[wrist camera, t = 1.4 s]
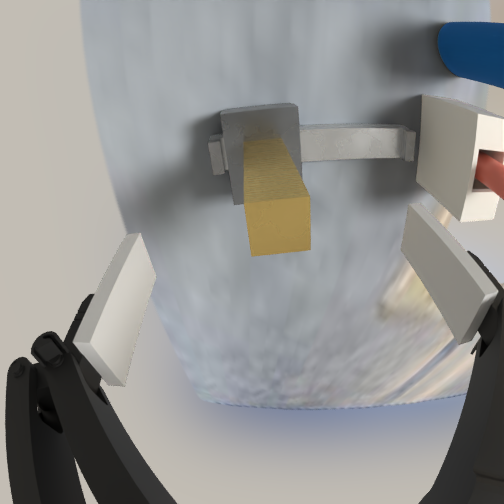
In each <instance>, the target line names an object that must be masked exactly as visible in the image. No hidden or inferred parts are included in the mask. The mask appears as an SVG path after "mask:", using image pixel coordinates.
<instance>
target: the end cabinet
mask: <svg viewBox="0 0 504 504" xmlns="http://www.w3.org/2000/svg"><path fill="white" fill-rule="evenodd" d="M479 150H480V151H482V152H483V153H485V154H487V155H489V156H490V157H492V158H493V159H495V160H497V161H498V162H500V163H501V164H503V165H504V118H503V117H501V116H499V115H496V114H494V113H492V112H489V111H487V110H484V109H481V108H479V107H476V106H473V105H471V104H468V103H465V102H462V101H459V100H455V99H450V98H444V97H438V96H431V95H423V94H422V110H421V131H420V145H419V156H418V166H417V175H416V182H417V183H418V184H420V185H421V186H422V187H423V188H424V189H425V190H426V191H428V192H429V193H430V194H431V195H432V196H433V197H434V198H435V199H436V200H437V201H438V202H440V203H441V204H442V205H443V206H444V207H445V208H446V209H447V210H448V211H449V212H450V213H451V214H452V215H453V216H454V217H455V218H456V219H457V220H458V221H459V222H469V221H480V220H490V219H494V216H495V212H496V209H497V205H498V201H499V196H498V195H497V194H496V193H494V192H493V191H492V190H491V189H489V188H488V187H487V186H485V185H484V184H483V183H481V182H480V181H479V180H477V179H476V178H475V172H476V166H477V160H478V153H479Z"/></svg>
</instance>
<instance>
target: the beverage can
mask: <svg viewBox="0 0 504 504" xmlns="http://www.w3.org/2000/svg"><path fill="white" fill-rule="evenodd" d="M438 49H439V53H440V56H441V58H442V60H443V62H444V64H445V65H446V67H447V68H448V69H449V70H450V71H451V72H452V73H453V74H455V75H457V76H459V77H462V78H466V79H470V80H474V81H478V82H482V83H486V84H489V85H494V86H496V87H500V88H503V89H504V23H491V22H449V23H447V24H445V25H444V26H443V27H442V28H441V29H440V31H439V34H438Z"/></svg>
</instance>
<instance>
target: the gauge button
mask: <svg viewBox="0 0 504 504" xmlns="http://www.w3.org/2000/svg"><path fill="white" fill-rule="evenodd" d="M475 178H476V179H477V180H479V181H480V182H481V183H483V184H484V185H485V186H487V187H488V188H489V189H491V190H492V191H493V192H494V193H496V194H497V195H498V196H499V197H501V198H502V199H503V200H504V165H503V164H501V163H500V162H498V161H497V160H495V159H493V158H492V157H490V156H489V155H487V154H485V153H483V152H482V151H480V150H479V153H478V160H477V166H476V172H475Z"/></svg>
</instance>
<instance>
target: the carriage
mask: <svg viewBox="0 0 504 504" xmlns="http://www.w3.org/2000/svg"><path fill="white" fill-rule="evenodd" d="M220 118H221V125H222V131H223V138H224V144H225V151H226V157H227V163H228V170H229V176H230V182H231V189H232V195H233V201H234V205H239V204H244V207H245V214H246V221H247V228H248V235H249V242H250V249H251V256H261V255H270V254H279V253H289V252H298V251H307V250H310V248H311V235H310V195H309V193H308V191H307V189H306V187H305V185H304V183H303V181H302V162H301V144H300V128H299V114H298V106H296V105H295V104H291V103H282V104H270V105H259V106H250V107H241V108H233V109H226V110H223V111H221V113H220Z"/></svg>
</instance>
